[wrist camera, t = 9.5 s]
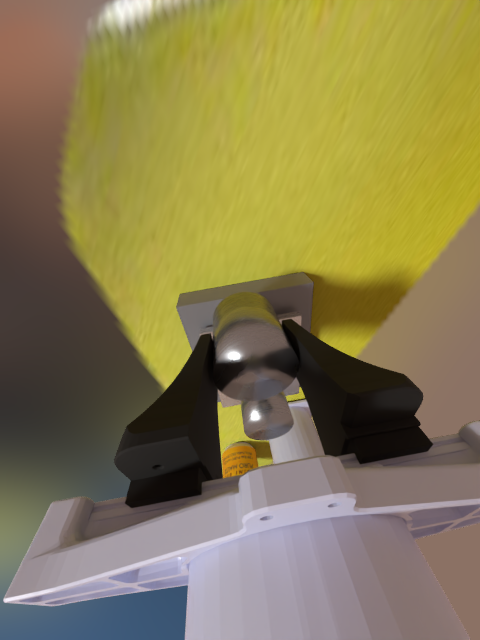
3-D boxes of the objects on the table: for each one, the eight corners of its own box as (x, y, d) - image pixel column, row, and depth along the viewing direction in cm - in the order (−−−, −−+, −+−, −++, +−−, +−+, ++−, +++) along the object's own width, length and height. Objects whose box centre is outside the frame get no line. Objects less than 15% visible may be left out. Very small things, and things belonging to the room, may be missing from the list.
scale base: (299, 370, 28) (308, 388, 25) (211, 386, 28) (211, 406, 25) (303, 272, 20) (315, 285, 18) (179, 294, 20) (175, 310, 17)
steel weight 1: (276, 337, 16) (299, 392, 12) (220, 349, 16) (223, 407, 12) (272, 285, 14) (299, 331, 9) (205, 299, 13) (202, 350, 9)
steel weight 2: (275, 393, 24) (288, 437, 20) (237, 395, 23) (242, 442, 19) (281, 365, 21) (298, 410, 17) (239, 367, 21) (246, 414, 17)
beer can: (249, 437, 36) (269, 570, 24) (258, 451, 40) (279, 574, 27) (217, 446, 37) (220, 581, 24) (228, 459, 40) (236, 584, 28)
